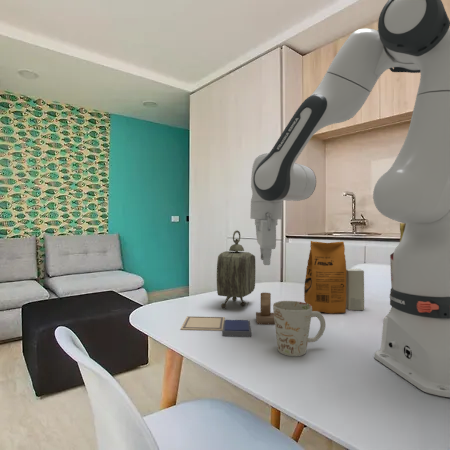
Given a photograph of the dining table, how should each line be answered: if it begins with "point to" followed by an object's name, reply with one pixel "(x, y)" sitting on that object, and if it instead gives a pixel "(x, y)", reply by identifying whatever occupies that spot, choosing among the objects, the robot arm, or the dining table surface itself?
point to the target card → (203, 323)
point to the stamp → (265, 311)
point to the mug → (295, 326)
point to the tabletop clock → (235, 273)
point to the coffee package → (326, 278)
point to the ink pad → (236, 328)
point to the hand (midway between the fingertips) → (265, 262)
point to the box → (354, 289)
